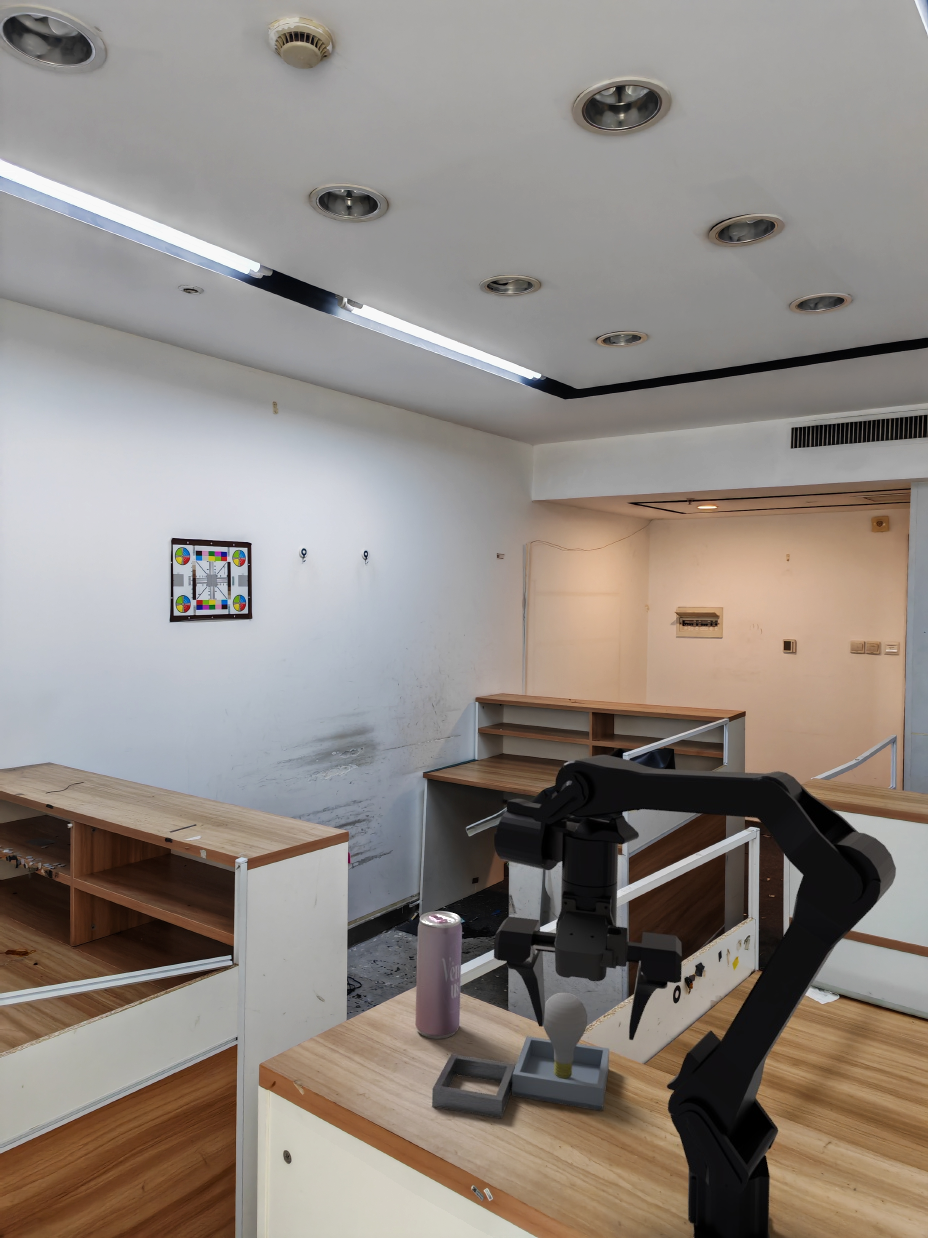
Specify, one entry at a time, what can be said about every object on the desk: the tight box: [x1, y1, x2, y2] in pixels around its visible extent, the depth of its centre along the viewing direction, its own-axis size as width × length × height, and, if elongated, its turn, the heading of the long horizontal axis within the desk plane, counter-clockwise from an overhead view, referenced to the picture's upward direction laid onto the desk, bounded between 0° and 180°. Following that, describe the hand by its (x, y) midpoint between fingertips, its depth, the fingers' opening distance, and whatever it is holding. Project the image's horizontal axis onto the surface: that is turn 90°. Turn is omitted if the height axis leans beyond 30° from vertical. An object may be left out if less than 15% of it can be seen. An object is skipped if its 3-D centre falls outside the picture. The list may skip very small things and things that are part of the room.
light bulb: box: [542, 992, 588, 1079], centre depth 98 cm, size 6×5×10 cm
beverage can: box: [414, 910, 463, 1040], centre depth 110 cm, size 6×6×15 cm
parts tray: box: [511, 1035, 610, 1112], centre depth 98 cm, size 10×9×2 cm
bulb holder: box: [431, 1053, 516, 1119], centre depth 95 cm, size 8×8×2 cm
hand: (585, 1031), depth 84 cm, fingers open, 9 cm apart
